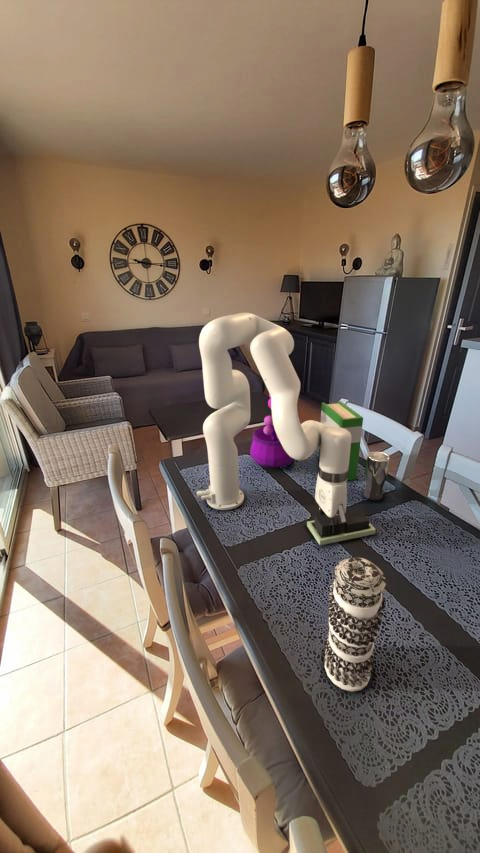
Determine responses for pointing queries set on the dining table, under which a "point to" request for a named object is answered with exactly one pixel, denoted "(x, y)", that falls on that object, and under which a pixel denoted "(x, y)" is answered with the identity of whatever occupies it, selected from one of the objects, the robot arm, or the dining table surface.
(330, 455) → the robot arm
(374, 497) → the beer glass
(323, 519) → the black rectangular block
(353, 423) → the hardback book
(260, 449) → the decorative plant
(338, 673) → the decorative candle
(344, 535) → the tray
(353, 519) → the seated pad
